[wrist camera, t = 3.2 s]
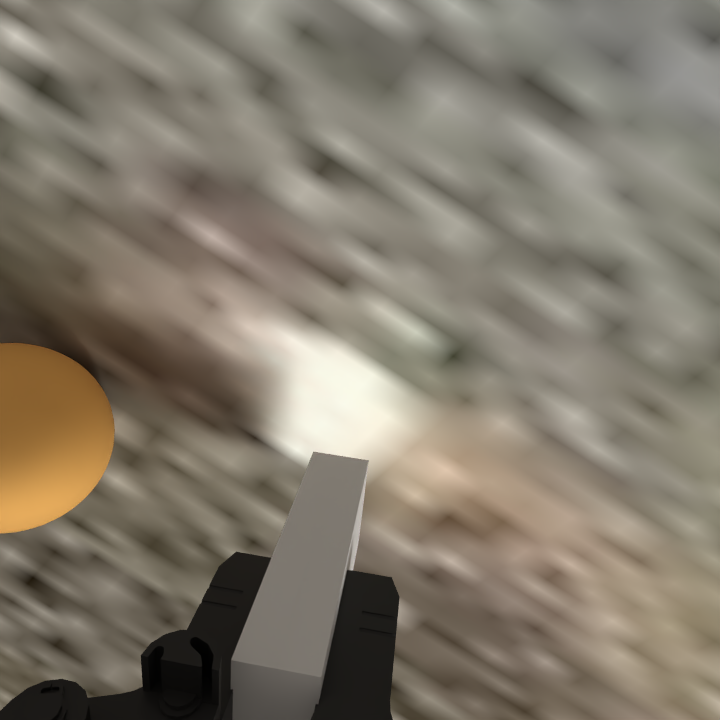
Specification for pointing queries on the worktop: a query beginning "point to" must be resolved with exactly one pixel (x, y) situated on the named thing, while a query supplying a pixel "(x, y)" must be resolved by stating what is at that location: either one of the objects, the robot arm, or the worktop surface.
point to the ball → (48, 435)
